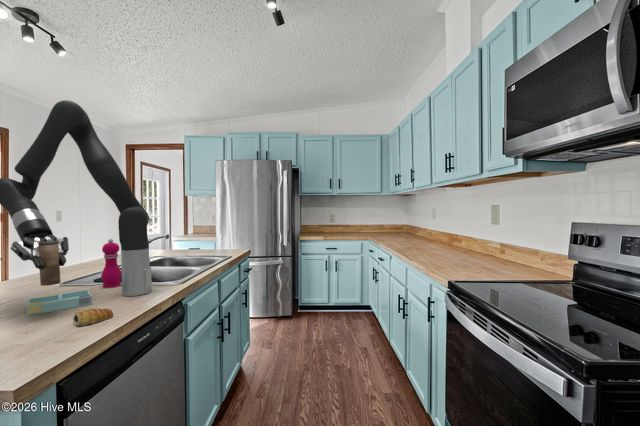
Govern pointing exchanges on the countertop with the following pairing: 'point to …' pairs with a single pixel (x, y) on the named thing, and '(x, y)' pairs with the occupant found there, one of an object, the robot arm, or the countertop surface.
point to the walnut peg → (49, 263)
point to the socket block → (58, 302)
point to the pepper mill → (111, 265)
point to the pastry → (91, 316)
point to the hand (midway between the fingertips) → (52, 265)
